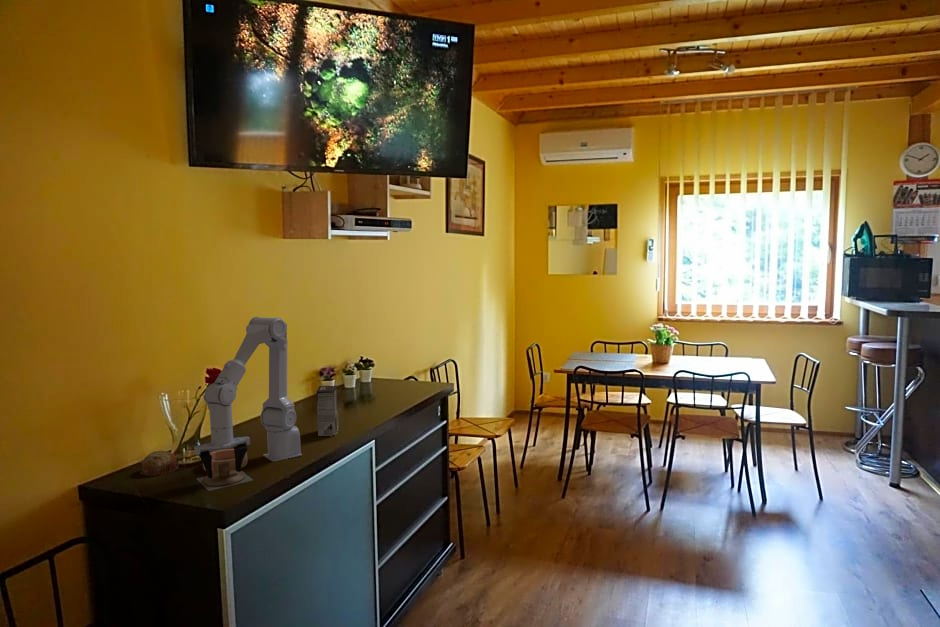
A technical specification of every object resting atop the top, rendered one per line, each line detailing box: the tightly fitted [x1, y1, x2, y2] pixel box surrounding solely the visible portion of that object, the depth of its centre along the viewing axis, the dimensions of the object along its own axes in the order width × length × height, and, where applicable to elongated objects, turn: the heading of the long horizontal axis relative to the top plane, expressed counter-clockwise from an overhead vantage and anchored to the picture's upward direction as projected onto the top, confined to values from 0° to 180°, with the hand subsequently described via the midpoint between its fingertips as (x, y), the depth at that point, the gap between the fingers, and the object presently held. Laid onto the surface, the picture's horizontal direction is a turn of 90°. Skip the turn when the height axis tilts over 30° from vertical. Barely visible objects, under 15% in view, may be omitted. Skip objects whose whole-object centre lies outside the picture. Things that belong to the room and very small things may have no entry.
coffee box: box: [316, 385, 339, 436], centre depth 220 cm, size 9×6×16 cm
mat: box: [195, 473, 254, 492], centre depth 175 cm, size 12×12×1 cm
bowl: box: [202, 448, 248, 473], centre depth 187 cm, size 12×12×4 cm
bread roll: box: [140, 450, 180, 477], centre depth 184 cm, size 10×10×8 cm
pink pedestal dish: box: [203, 462, 246, 487], centre depth 175 cm, size 11×11×4 cm
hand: (224, 474), depth 175 cm, fingers open, 7 cm apart
